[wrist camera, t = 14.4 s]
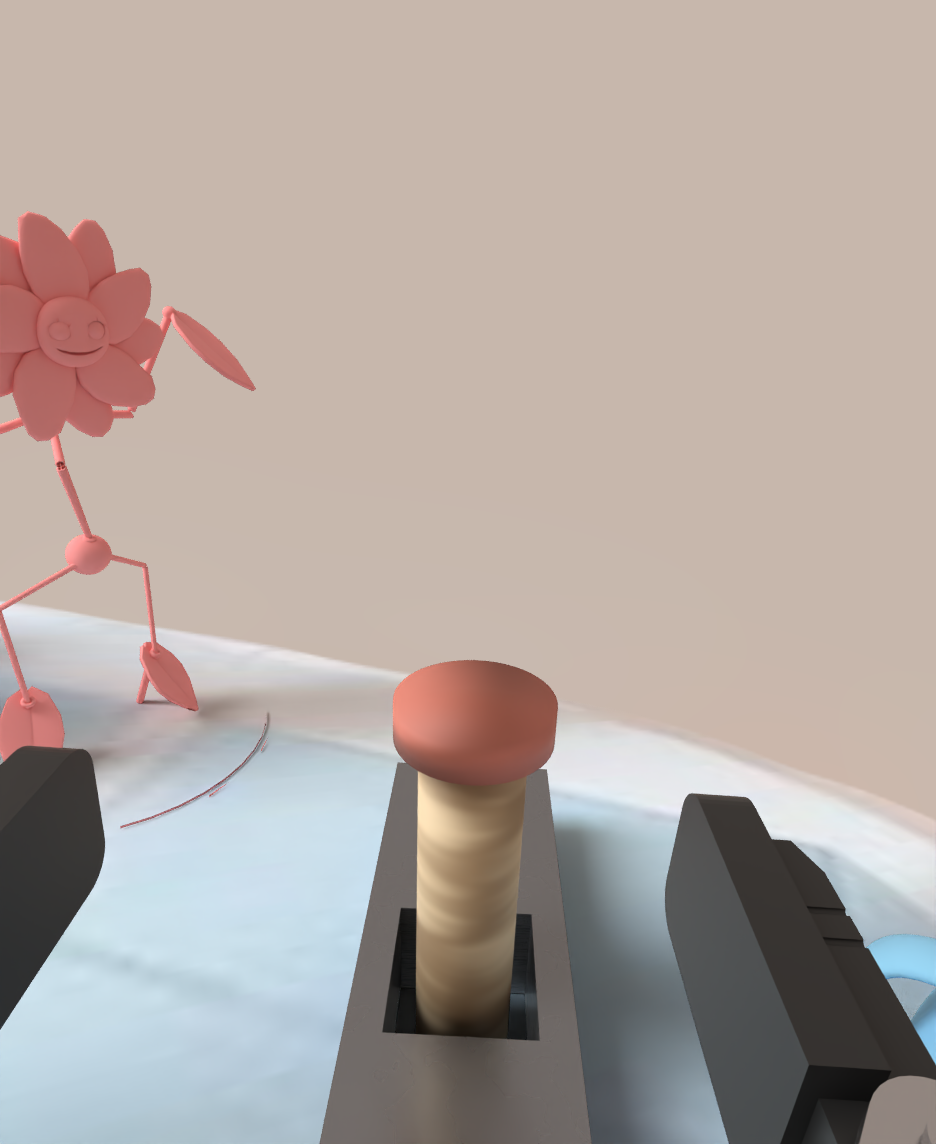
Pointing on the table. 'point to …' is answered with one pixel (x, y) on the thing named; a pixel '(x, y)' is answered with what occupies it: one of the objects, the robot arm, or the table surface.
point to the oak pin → (469, 831)
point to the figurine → (83, 409)
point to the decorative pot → (912, 975)
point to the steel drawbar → (450, 1063)
